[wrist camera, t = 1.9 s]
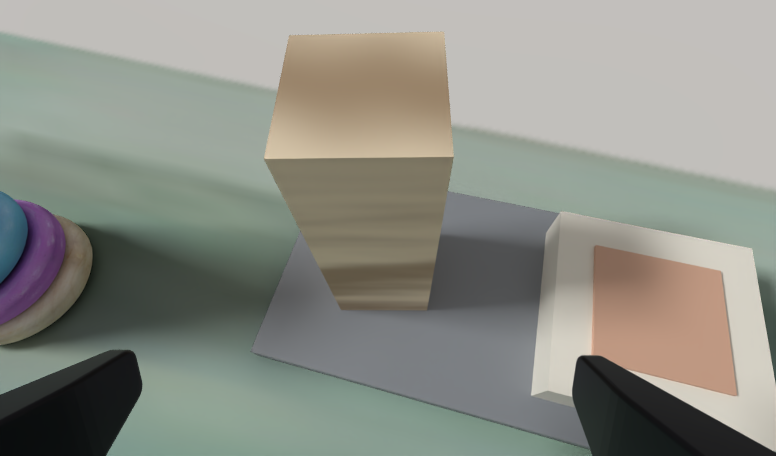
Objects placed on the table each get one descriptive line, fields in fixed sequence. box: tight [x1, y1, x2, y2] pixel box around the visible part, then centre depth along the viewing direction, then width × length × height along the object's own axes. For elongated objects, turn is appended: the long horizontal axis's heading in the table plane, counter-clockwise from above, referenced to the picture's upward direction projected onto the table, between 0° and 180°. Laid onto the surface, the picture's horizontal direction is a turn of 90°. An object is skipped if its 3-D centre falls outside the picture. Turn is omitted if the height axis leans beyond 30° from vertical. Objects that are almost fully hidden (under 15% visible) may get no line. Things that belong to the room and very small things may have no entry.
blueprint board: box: [251, 191, 776, 452], centre depth 20 cm, size 24×12×4 cm, turn 75°
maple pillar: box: [264, 32, 454, 310], centre depth 16 cm, size 5×5×13 cm
